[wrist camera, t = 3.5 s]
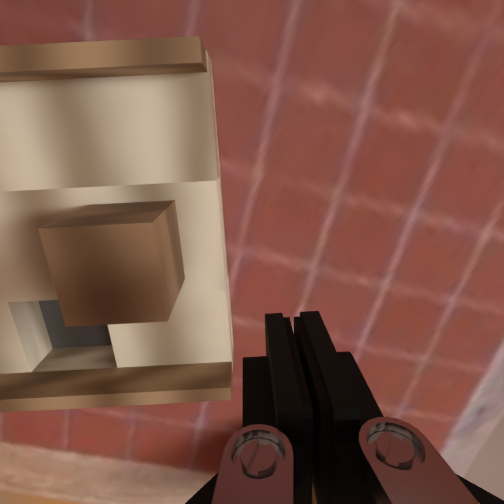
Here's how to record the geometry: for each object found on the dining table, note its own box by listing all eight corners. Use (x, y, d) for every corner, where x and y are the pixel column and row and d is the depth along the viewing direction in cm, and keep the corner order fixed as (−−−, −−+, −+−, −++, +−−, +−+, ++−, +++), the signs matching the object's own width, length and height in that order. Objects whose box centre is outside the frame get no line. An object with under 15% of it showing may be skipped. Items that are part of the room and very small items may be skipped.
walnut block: (175, 200, 19) (152, 222, 14) (185, 278, 21) (167, 321, 16) (88, 204, 19) (37, 228, 14) (105, 282, 21) (65, 326, 16)
